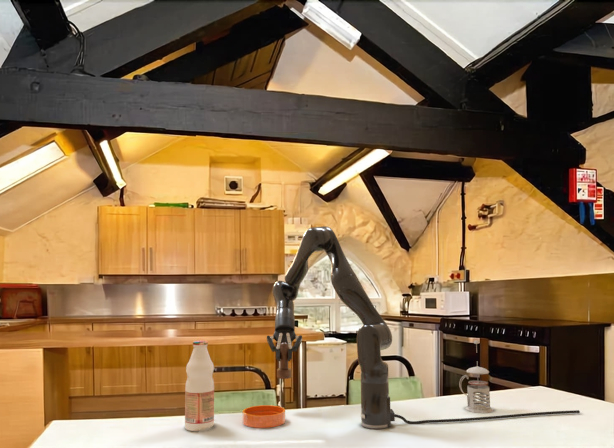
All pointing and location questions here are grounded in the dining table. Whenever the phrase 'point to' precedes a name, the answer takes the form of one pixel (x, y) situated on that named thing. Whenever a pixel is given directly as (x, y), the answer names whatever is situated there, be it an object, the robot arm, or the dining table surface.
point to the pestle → (284, 362)
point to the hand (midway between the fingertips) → (284, 359)
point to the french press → (481, 388)
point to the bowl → (263, 416)
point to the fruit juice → (199, 389)
